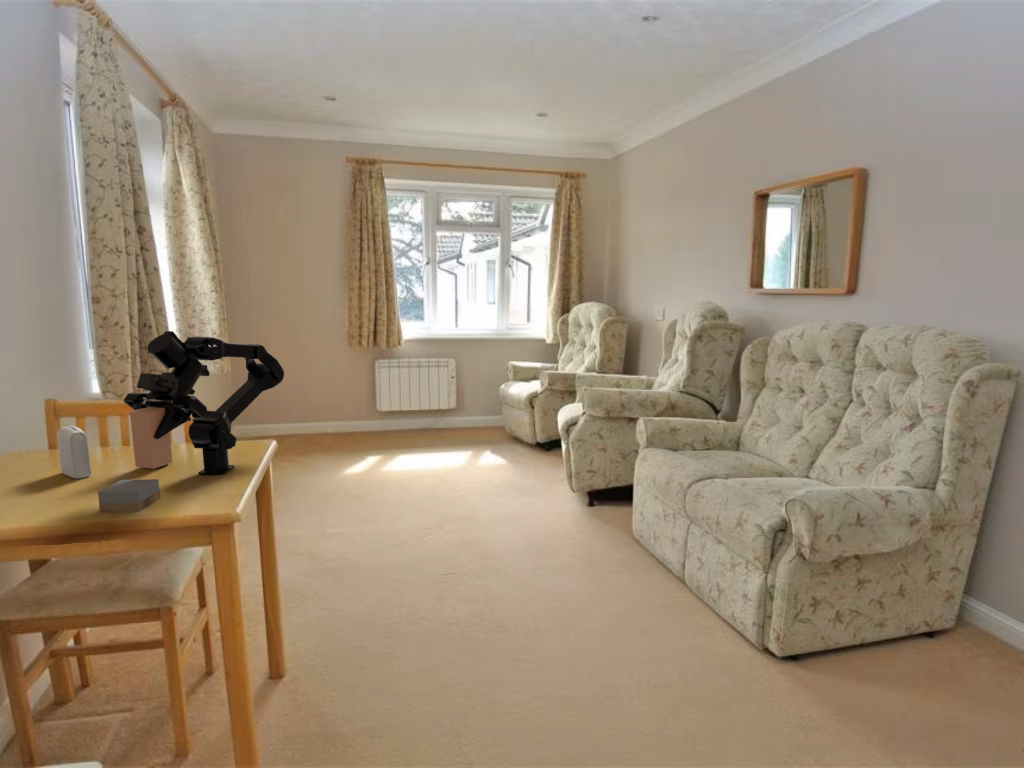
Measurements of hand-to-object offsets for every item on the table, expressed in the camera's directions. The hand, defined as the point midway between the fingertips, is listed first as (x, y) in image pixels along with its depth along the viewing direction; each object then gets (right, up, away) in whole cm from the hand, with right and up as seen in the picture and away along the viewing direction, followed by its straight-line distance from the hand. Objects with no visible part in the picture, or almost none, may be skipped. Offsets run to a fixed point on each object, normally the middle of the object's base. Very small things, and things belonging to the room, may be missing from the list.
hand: (146, 437), depth 131 cm
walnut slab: (-1, -15, -3) cm, 15 cm away
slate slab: (-1, -12, -4) cm, 13 cm away
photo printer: (-29, -11, +18) cm, 36 cm away
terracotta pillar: (0, -6, +2) cm, 7 cm away
